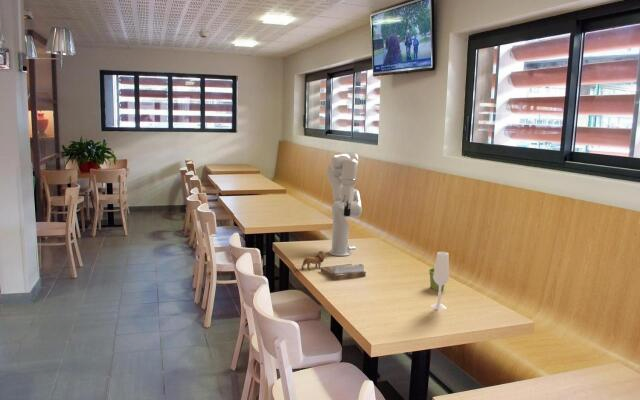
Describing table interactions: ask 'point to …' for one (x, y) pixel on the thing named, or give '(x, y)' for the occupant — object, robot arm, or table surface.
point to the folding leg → (348, 268)
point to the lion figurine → (314, 260)
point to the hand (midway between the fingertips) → (346, 215)
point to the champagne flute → (441, 276)
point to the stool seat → (340, 276)
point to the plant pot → (432, 282)
